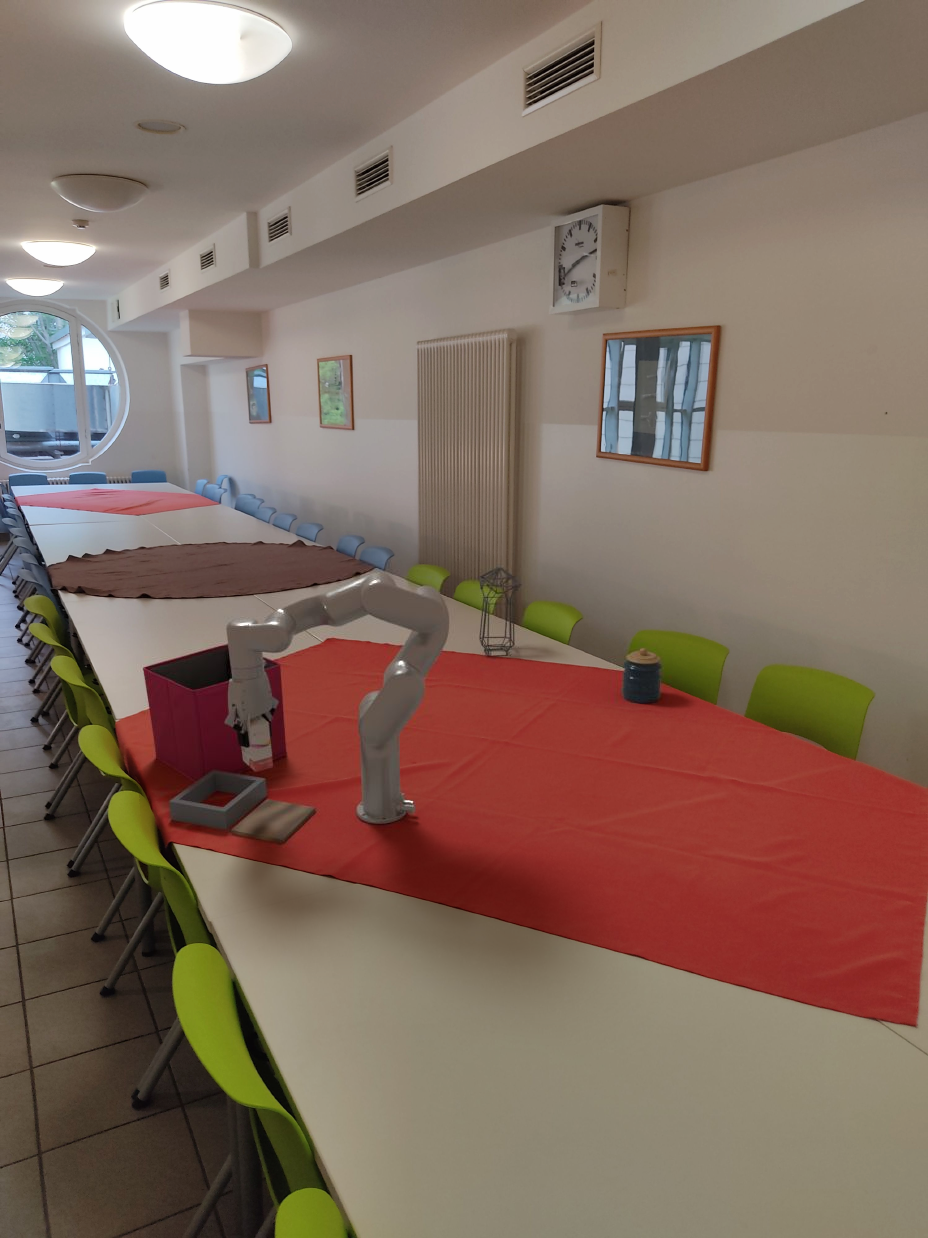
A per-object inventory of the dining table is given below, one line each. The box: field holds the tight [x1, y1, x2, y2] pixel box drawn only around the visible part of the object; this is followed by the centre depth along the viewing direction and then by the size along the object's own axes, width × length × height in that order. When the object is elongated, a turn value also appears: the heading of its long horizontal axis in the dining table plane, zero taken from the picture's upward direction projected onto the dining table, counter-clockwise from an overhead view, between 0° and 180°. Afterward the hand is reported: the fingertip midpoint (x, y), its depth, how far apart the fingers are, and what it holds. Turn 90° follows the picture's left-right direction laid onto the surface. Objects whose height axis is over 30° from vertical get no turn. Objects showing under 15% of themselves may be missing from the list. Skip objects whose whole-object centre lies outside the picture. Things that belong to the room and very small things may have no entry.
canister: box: [621, 647, 663, 704], centre depth 279 cm, size 13×13×18 cm
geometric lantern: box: [476, 566, 522, 657], centre depth 323 cm, size 16×16×35 cm
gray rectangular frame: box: [168, 770, 268, 831], centre depth 208 cm, size 16×18×5 cm
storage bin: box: [142, 643, 288, 784], centre depth 233 cm, size 28×29×28 cm
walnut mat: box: [230, 798, 316, 845], centre depth 202 cm, size 14×16×1 cm
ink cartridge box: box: [240, 714, 274, 773], centre depth 198 cm, size 9×5×15 cm, turn 35°
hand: (255, 740), depth 198 cm, fingers closed on ink cartridge box, 6 cm apart
